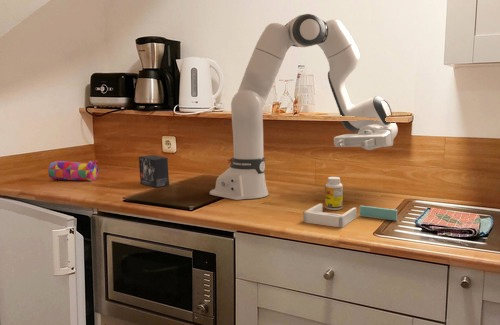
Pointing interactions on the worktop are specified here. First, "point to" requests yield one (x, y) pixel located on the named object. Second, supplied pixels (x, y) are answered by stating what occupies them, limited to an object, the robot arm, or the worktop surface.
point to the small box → (154, 171)
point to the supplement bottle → (333, 194)
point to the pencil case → (73, 170)
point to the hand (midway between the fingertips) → (350, 144)
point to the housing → (328, 217)
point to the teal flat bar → (378, 212)
